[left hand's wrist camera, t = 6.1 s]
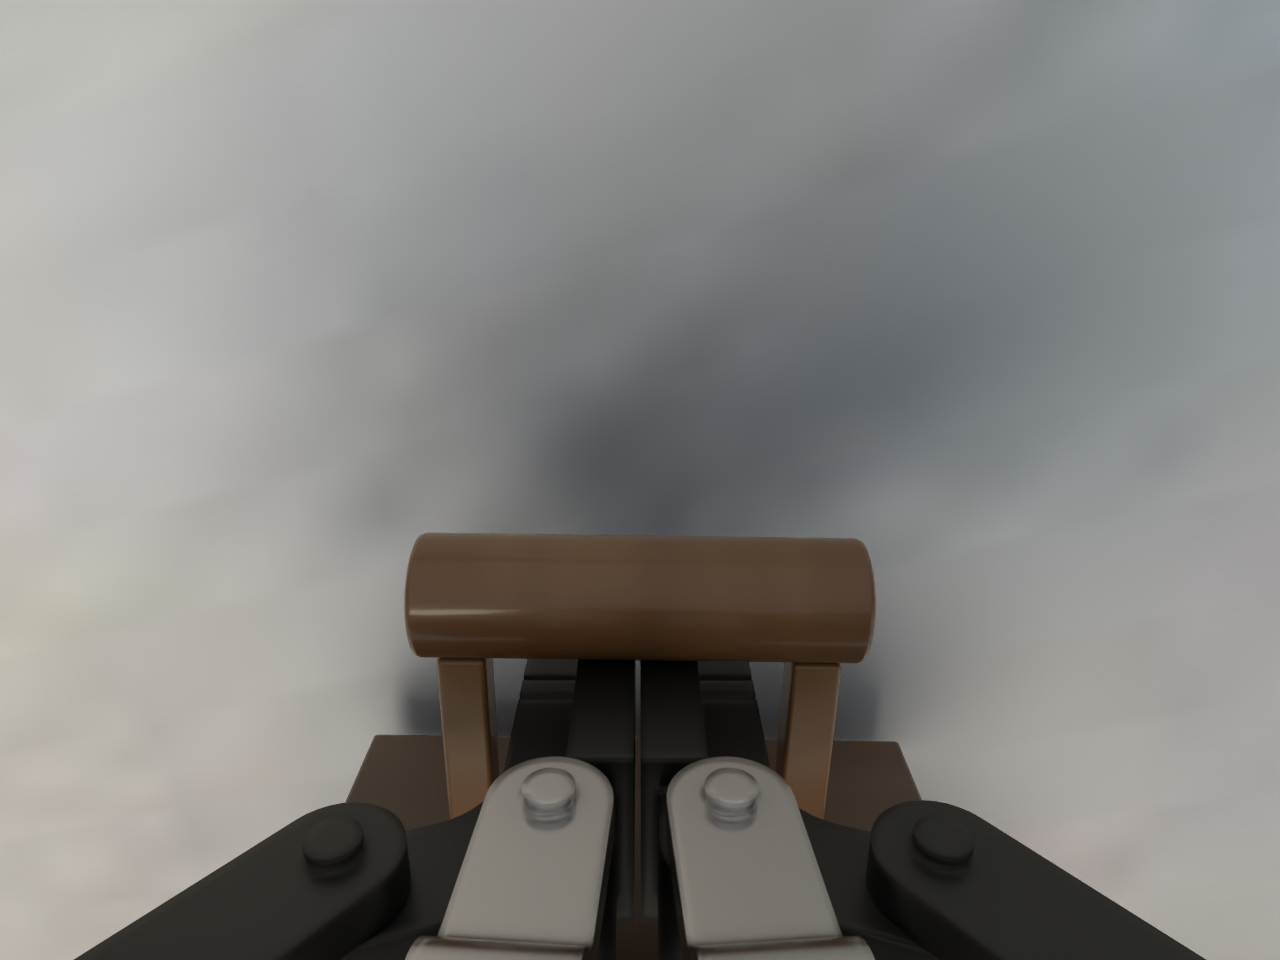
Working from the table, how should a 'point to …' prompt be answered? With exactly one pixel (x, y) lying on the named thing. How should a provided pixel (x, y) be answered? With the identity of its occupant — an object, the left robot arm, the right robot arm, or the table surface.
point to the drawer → (636, 658)
